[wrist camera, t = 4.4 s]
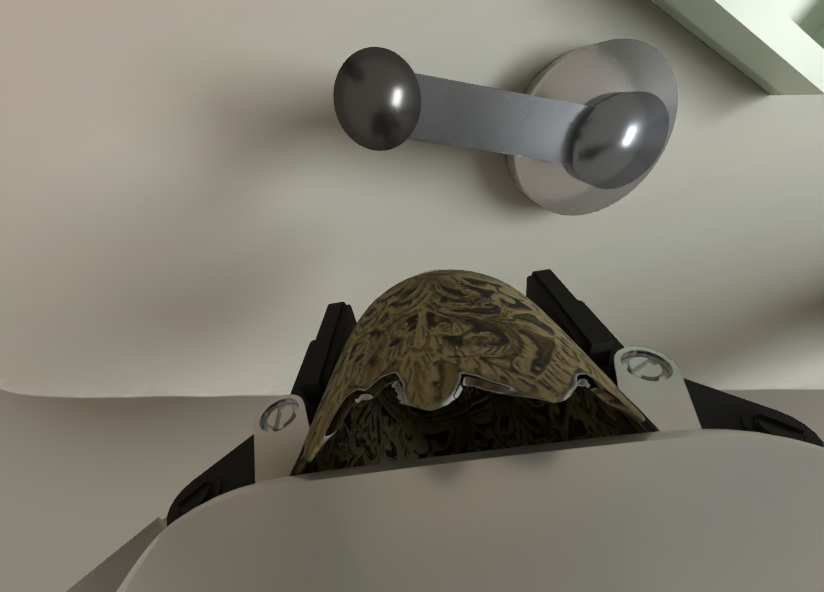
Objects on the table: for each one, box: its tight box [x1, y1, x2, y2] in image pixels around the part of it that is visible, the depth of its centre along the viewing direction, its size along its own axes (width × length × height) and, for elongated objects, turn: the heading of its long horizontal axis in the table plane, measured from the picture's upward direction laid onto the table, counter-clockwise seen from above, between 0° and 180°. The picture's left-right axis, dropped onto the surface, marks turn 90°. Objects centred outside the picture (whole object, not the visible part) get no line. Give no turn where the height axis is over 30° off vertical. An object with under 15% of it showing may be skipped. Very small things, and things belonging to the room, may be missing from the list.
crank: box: [333, 47, 669, 189], centre depth 12 cm, size 14×4×6 cm, turn 82°
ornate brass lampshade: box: [289, 269, 660, 476], centre depth 9 cm, size 8×7×8 cm
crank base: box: [506, 39, 678, 215], centre depth 17 cm, size 8×8×2 cm
